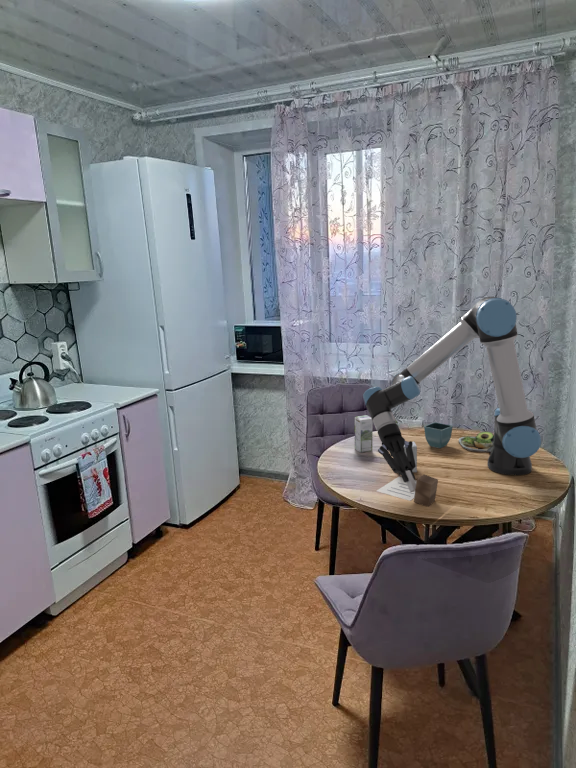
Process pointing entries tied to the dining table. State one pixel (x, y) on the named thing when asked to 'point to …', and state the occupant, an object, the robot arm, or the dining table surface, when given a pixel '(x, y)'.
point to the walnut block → (425, 490)
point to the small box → (414, 455)
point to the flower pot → (438, 434)
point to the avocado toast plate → (478, 442)
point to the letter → (398, 489)
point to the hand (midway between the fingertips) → (414, 490)
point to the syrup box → (363, 433)
